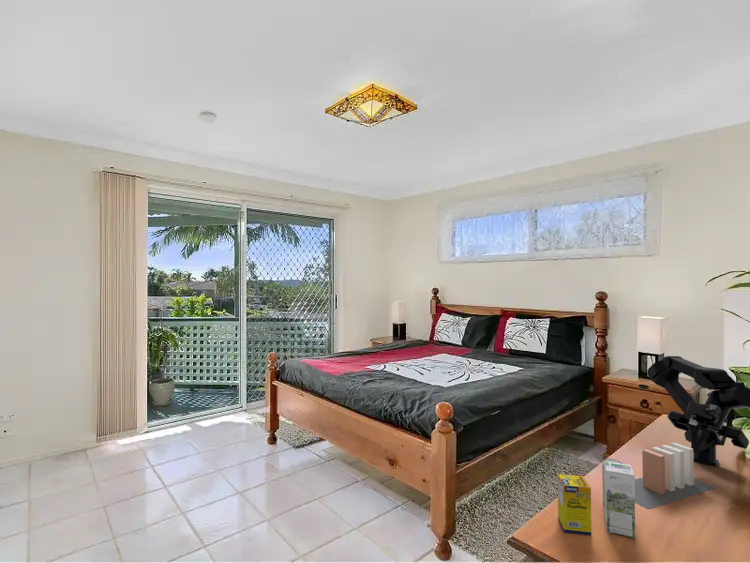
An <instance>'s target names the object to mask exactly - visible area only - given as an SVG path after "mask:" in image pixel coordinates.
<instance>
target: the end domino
mask: <svg viewBox="0 0 750 563" xmlns="http://www.w3.org/2000/svg"><path fill="white" fill-rule="evenodd" d="M641 453H642V454H641V455H642V458H641V459H642V462H641V463H642V477H643V486H644V487H646V488H648V489H650V490H653V491H655V492H657V493H659V494H665V456H664V455H661V454H658V453H656V452H653V451H652V450H650V449H646V448H644V449H642V452H641Z"/></svg>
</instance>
